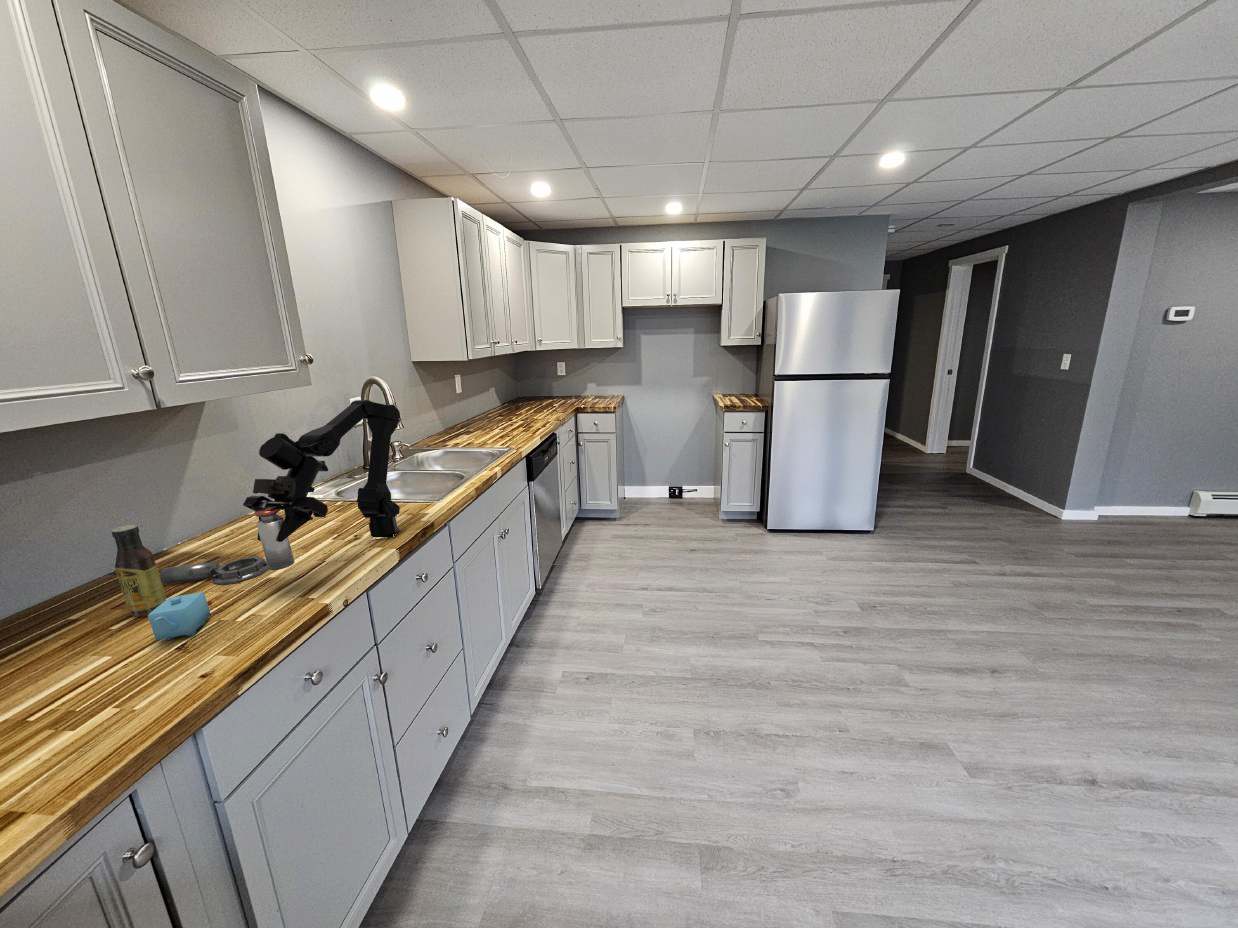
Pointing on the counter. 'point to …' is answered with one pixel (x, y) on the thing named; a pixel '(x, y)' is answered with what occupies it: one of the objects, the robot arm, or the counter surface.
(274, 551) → the jar with red lid
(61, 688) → the counter surface
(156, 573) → the sauce bottle
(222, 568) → the dark grey handled piece
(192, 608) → the teapot
